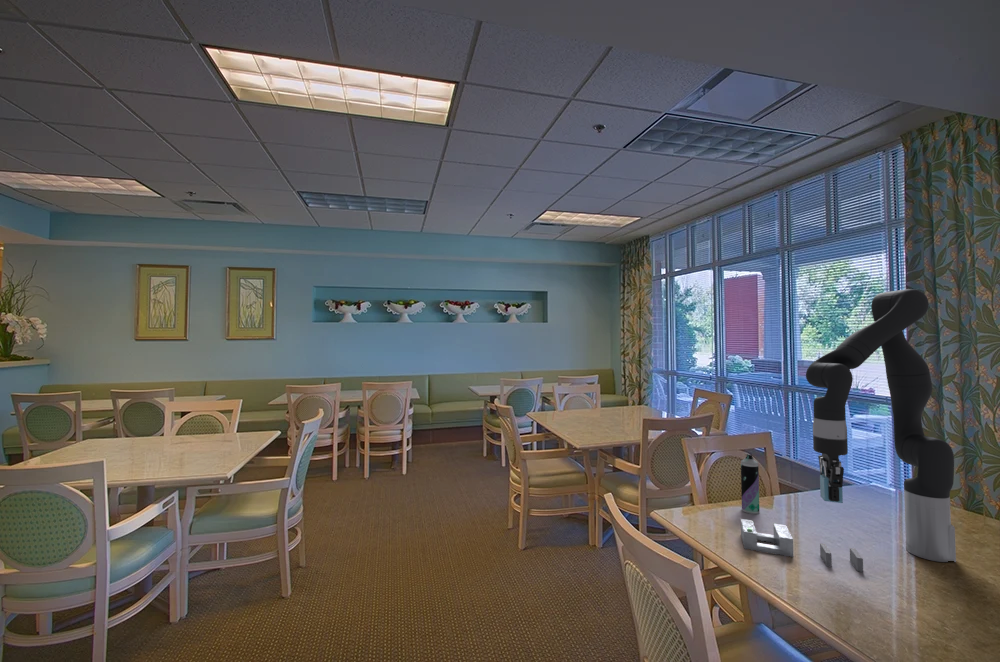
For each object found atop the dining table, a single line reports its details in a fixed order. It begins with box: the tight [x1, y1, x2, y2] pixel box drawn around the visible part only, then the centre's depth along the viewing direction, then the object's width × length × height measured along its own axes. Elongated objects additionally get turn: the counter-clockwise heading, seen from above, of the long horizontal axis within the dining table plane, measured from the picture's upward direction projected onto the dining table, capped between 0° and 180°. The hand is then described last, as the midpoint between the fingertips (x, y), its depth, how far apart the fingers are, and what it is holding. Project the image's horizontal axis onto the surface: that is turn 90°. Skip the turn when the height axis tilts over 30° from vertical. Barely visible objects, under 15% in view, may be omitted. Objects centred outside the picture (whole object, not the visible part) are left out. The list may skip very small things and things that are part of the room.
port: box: [740, 518, 794, 558], centre depth 127 cm, size 12×10×6 cm
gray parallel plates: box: [819, 542, 864, 573], centre depth 116 cm, size 8×6×4 cm
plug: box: [819, 473, 844, 504], centre depth 118 cm, size 4×4×7 cm
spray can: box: [740, 453, 760, 515], centre depth 153 cm, size 6×6×20 cm
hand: (831, 497), depth 118 cm, fingers closed on plug, 4 cm apart
